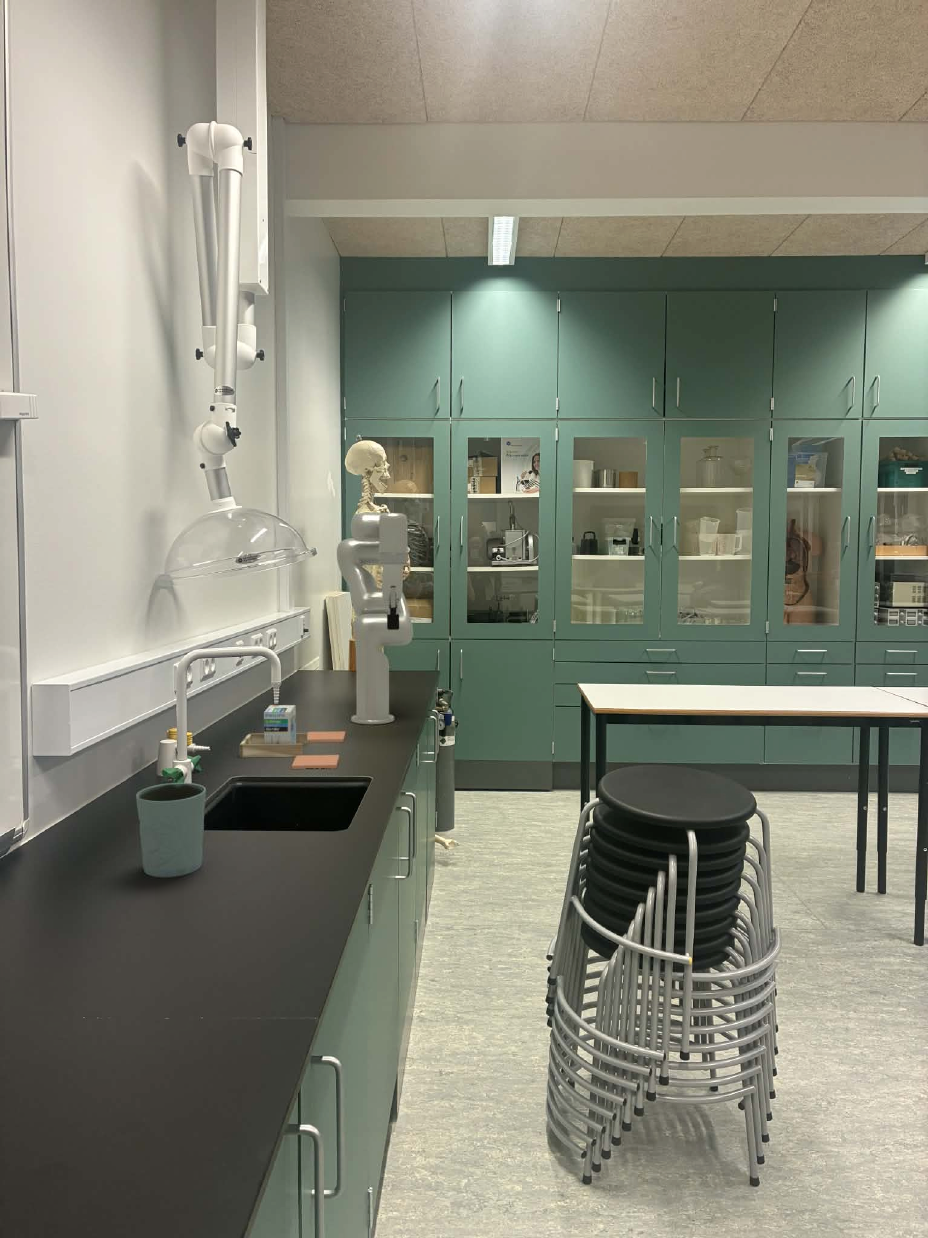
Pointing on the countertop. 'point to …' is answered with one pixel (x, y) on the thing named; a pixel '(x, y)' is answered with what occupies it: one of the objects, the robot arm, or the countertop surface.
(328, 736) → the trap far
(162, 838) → the teal cup
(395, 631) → the robot arm
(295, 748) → the wooden tray
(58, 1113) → the countertop surface
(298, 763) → the plate
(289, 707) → the light bulb box
